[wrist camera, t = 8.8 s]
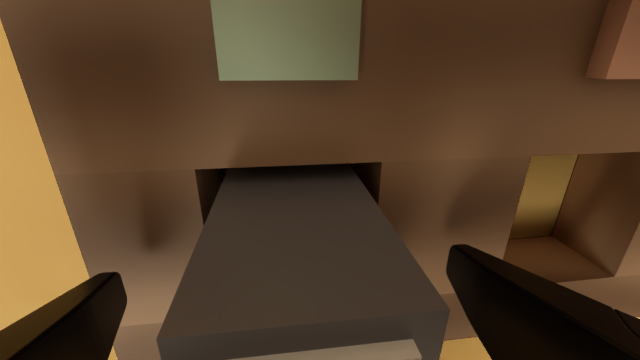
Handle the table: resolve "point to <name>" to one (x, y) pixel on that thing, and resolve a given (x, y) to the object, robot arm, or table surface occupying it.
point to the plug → (301, 276)
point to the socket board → (339, 127)
